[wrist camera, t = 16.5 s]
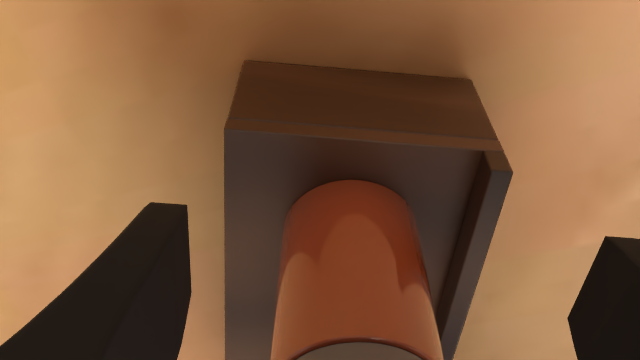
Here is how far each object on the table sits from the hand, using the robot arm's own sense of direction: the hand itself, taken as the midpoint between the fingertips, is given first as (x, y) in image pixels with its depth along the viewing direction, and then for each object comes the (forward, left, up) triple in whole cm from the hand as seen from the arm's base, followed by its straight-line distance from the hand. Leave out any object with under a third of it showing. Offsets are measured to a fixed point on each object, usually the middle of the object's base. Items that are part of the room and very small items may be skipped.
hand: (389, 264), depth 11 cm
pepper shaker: (-4, 0, -6) cm, 7 cm away
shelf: (-9, 0, -10) cm, 13 cm away
